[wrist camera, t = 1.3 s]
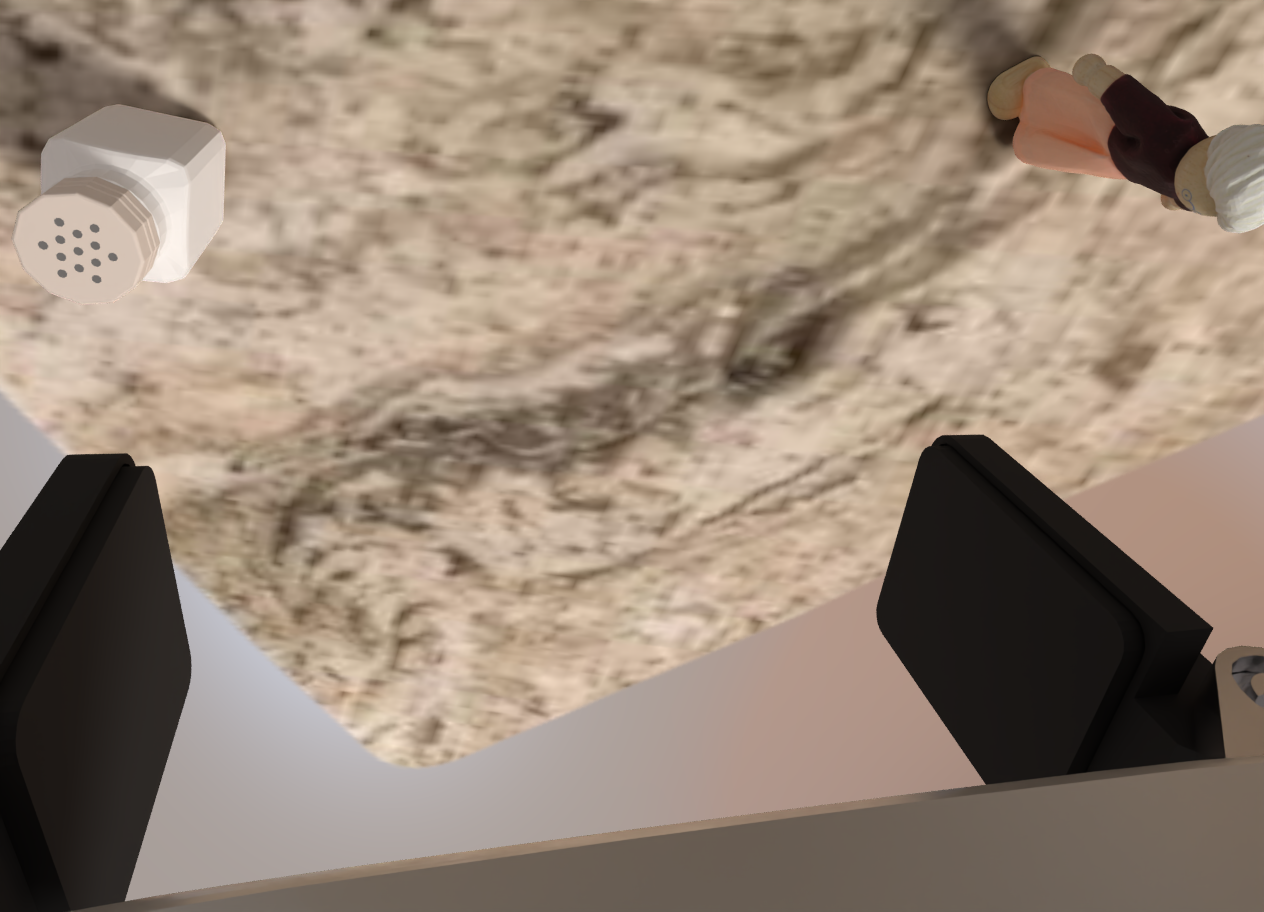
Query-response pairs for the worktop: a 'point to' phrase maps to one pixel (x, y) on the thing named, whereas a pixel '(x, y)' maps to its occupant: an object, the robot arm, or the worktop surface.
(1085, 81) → the grandmother figurine
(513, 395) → the worktop surface
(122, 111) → the pepper shaker
